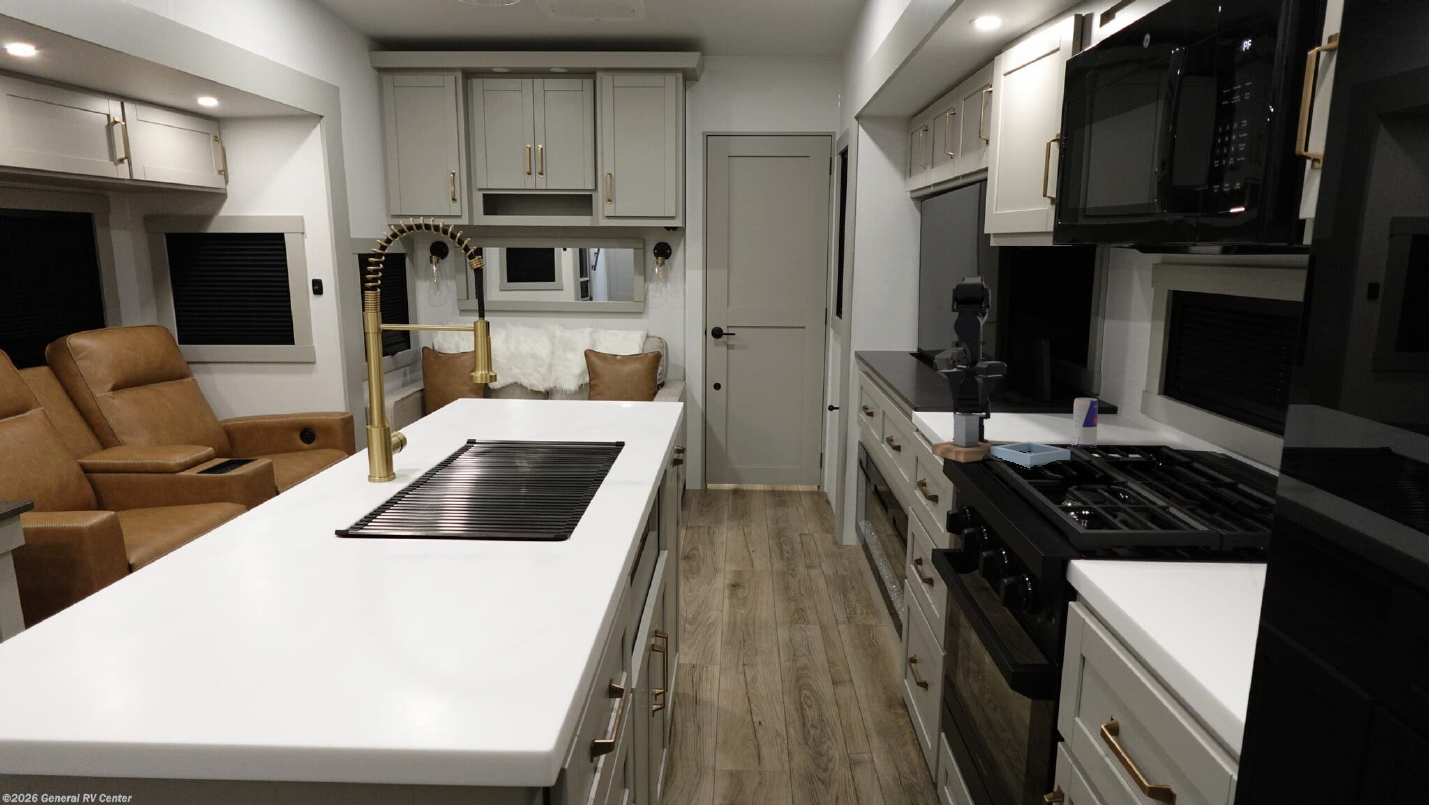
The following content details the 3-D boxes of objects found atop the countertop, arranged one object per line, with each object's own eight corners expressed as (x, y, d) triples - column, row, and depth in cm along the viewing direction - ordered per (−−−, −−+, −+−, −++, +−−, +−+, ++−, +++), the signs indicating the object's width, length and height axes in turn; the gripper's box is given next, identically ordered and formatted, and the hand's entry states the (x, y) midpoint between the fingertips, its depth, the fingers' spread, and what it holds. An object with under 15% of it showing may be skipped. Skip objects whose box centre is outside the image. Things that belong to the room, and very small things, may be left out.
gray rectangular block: (953, 455, 189) (953, 414, 188) (966, 453, 191) (967, 412, 189) (964, 458, 186) (965, 416, 184) (978, 456, 187) (978, 414, 186)
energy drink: (1100, 449, 191) (1102, 400, 190) (1077, 449, 192) (1079, 400, 190) (1090, 444, 197) (1092, 397, 195) (1068, 445, 197) (1070, 397, 195)
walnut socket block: (932, 454, 191) (932, 443, 191) (967, 449, 195) (967, 439, 195) (963, 462, 181) (963, 451, 181) (1000, 457, 185) (1000, 446, 185)
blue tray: (990, 459, 184) (990, 446, 183) (1029, 453, 188) (1029, 441, 188) (1029, 469, 173) (1030, 455, 172) (1069, 463, 177) (1070, 450, 177)
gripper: (915, 336, 189) (914, 400, 191) (970, 340, 172) (969, 410, 175) (951, 334, 194) (950, 396, 196) (1009, 337, 177) (1007, 406, 179)
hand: (967, 402), depth 186 cm, fingers open, 9 cm apart
